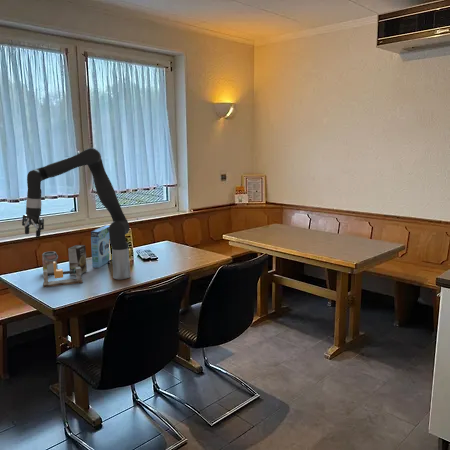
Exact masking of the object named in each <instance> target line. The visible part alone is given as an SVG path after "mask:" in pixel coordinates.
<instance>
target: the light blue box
mask: <svg viewBox="0 0 450 450" xmlns="http://www.w3.org/2000/svg"><path fill="white" fill-rule="evenodd" d="M109 227H110V225H102V226H101V227H98V228H96V229H94V230H92V231H90V245H91V262H92V263H91V264H92V265H91V266H92V268H93V269H95V268H96V269H97V268H98V269H101V267H103V266H105V265H106V264H107V263H109V262H110V261H109V253H108V251H109V239H110V236H109ZM108 261H109V262H108Z"/></svg>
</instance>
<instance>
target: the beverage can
mask: <svg viewBox="0 0 450 450" xmlns="http://www.w3.org/2000/svg"><path fill="white" fill-rule="evenodd" d="M41 256H42V257H41V260H42V271H43V270H46V269H47V273H54V267H53V262H56V269H59V267H58V260H59V255H58V254H57V252H56V251H45V252H43V253H42V254H41Z"/></svg>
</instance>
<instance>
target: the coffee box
mask: <svg viewBox="0 0 450 450" xmlns="http://www.w3.org/2000/svg"><path fill="white" fill-rule="evenodd" d="M86 248H87V247H86V245H85V244H75V245H73V246H71V247H68V248H67V249H68V267H69V271H73V270H74V269H75V270H76V267H80V268H81V275H83V274H84V273H86V272H87V271H88V267H87V252H86ZM69 275H70V276H76V273H75V274H74V273H72V274H69Z"/></svg>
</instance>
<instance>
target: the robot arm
mask: <svg viewBox="0 0 450 450" xmlns="http://www.w3.org/2000/svg"><path fill="white" fill-rule="evenodd" d="M82 166H88V169H89V171H90V173H91V175H92V178H93V184H94V187H95V191H96V193H97V196H98V198H99V200H100V203H101V204H102V205H103V207H104V208H105V209H106V210H107V211H108V213H109V214H110V217H111V219H112V222H111V223H110V224H109V226H110V227H109V236H110V244H111V246H112V260H111V261H112V262H111V263H112V277H113V278H112V279H114V280H126V279H129V278H131V262H130V253H129V243H128V242H127V240H126V235H127V234H128V233H129V232H130V224H129V222H128V220H127V217H126V216H125V213H124V211H123V210H122V208H121V205H120V201H119V199H118V196H117V193H116V190H115V189H114V186H113V184H112V182H111V180H110V178H109V175H107V172H106V170H105V167H104V164H103V159H102V156H101V153H100V151H99V150H98V149H96V148H94V147H88V148H86V149H85V150H83V151H81V152H79V153H77V154H75V155H73V156H70V157H68V158H65V159H61V160H58V161H55V162H53V163H52V162H51V163H49V164H47V165H44V166H41V167H38V168H35V169H31V170H29V172H28V173H27V176H26V185H27V192H26V193H27V194H26V195H27V196H26V206H25V214H22V222H21V225H22V226H23V227H24V234H25V235H29V234H30V226H31V225H32V226H33V227H34V229H35V230H36V231H35V237H36V238H40V237H41V231H42V230H44V227H45V219H44V218H40V216H41V215H42V189H41V188H42V187H41V185H42V184H41V183H42V182H43V181H45V180H47V179H50V178H54V177H58V176H60V175H64V174H65V173H67V172H70V171H72V170H74V169H76V168H79V167H82Z"/></svg>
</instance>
